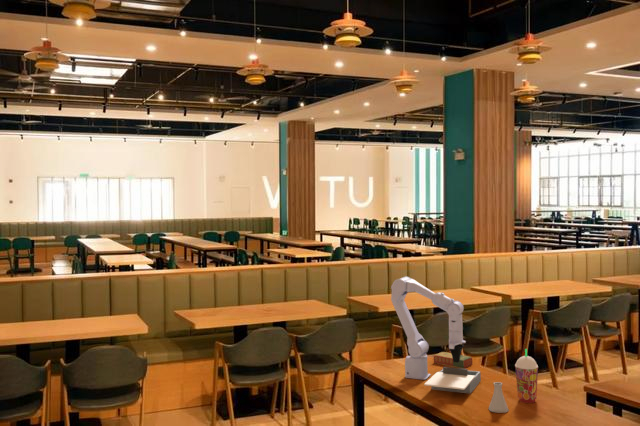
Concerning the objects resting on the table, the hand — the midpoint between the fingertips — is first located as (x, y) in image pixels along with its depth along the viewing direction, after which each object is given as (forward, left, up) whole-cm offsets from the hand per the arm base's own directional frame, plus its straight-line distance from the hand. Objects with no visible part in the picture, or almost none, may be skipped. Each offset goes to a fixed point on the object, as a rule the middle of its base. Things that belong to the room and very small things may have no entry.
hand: (456, 361), depth 272 cm
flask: (+23, -30, -9) cm, 38 cm away
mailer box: (+1, -6, -8) cm, 10 cm away
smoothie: (+31, -16, -8) cm, 36 cm away
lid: (+1, -15, -4) cm, 15 cm away
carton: (-9, +26, -9) cm, 28 cm away
